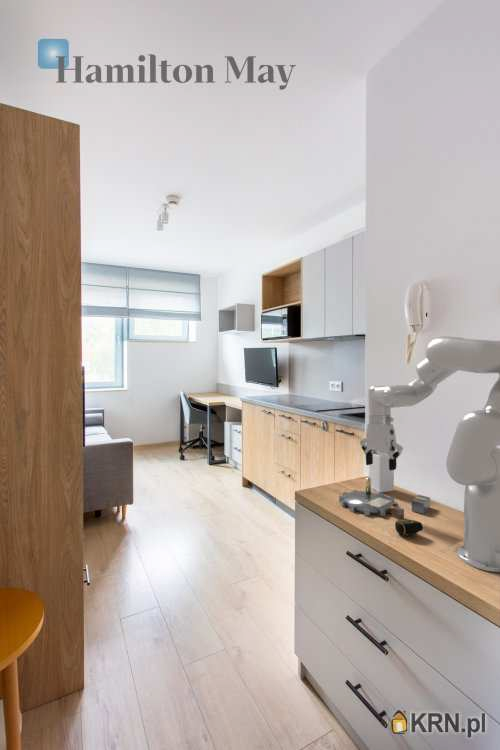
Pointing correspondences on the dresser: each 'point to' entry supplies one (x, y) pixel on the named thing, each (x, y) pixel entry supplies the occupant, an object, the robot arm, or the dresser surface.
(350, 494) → the sprocket
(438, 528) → the dresser surface
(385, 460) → the milk carton
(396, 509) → the taupe wooden cube
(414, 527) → the tape measure
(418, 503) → the grey rectangular block
